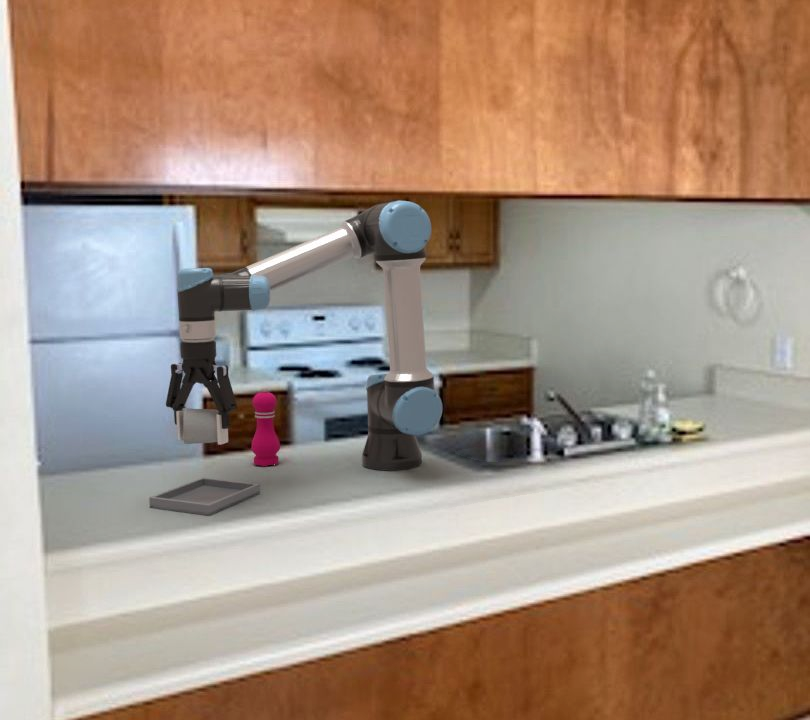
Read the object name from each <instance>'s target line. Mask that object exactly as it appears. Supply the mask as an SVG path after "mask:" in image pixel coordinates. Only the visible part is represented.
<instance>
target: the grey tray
mask: <svg viewBox="0 0 810 720" xmlns="http://www.w3.org/2000/svg"><path fill="white" fill-rule="evenodd" d="M260 485H261V484H260V483H253V482H245V481H236V480H235V481H234V480H227V479H226V480H225V479H218V478H211V477H200V478H198V479H196V480H192V481H190V482H187V483H185V484H182V485H179V486H176V487H174V488H171V489H168V490H166V491H163V492H161V493H157V494H155V495H152V496H150V497H149V500H148V501H149V508H152V509H157V510H158V509H159V510H166V511H173V512H179V513H187V514H194V515H201V516H202V515H203V516H208V515H209V516H212V515H215V514H217V513H219V512H221V511H223V510H226V509H228V508H231V507H233V506H235V505H238V504H240V503H242V502H244V500H245V501H246V500H249V499H251V498H254V497H256V496H257V494H258V495H260V494H261V487H260ZM259 493H260V494H259ZM255 495H256V496H255ZM253 496H254V497H253ZM248 498H249V499H248ZM239 502H240V503H239ZM237 503H238V504H237ZM216 512H217V513H216ZM214 513H215V514H214Z"/></svg>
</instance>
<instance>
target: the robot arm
mask: <svg viewBox="0 0 810 720" xmlns="http://www.w3.org/2000/svg"><path fill="white" fill-rule="evenodd" d="M431 236H432V222H431V219H430V217H429V215H428V213H427V212H426V211H425V209H423V208H422V207H421V206H420V205H419V204H417V203H415V202H412V201H407V200H396V201H395V200H394V201H389V202H383V203H381V202H380V203H379V204H375V205H373V206H371V207H370V208H368V209H366V210H364V211H362V212H361V213H358V214H357V215H354V216H353V217H350V218H348V219H346V220H344V221H342V222H341V224H340V227H338V228H336V229H333V230H331V231H328V232H326V233H324V234H321V235H319V236H317V237H316V236H315V237H314V238H312V239H309V240H306V241H305V242H302V243H300V244H297V245H295V246H292V247H291V248H288V249H286V250H285V249H284V250H283V251H281V252H278V253H276V254H273V255H271V256H269V257H266V258H265V259H261V260H259V261H257V262H254V263H252V264H250V265H248V266H245V267H243V268H240V269H238V270H235V271H233V272H231V273H224V274H222V275H220V276H215V275H214V273H213V269H212V268H210V267H191V268H189V267H188V268H181V269H179V271H178V272H177V279H176V280H177V282H176V283H177V288H176V292H177V306H178V307H177V308H178V323H179V324H178V325H179V339H180V340H182V341H181V342H180V358H181V359H182V363H181V362H178V363H172V364H171V365H170V374H171V375H170V380H169V384H168V385H169V386H168V390H167V396H166V402H165V406H166V407H167V408H170V409H172V410H173V416H174V417H173V419H174V424H175V425H176V429H177V430H176V433H177V434H176V436H177V441H184V439H183V437H184V436H183V419H184V409H187V408H186V407H187V406H185V405H186V403H187V402H188V399H189V398H190V397H189V396H190V394H191V392H192V391H193V388H194V385H195V384H196V383H197V384H201V385H203V387H204V388H205V389H207V391H208V393H209V395H210V397H211V399H212V401H213V403H214V404H215V406H216V408H217V409H216V410H218V411H219V413H218V414H216V417H217V438H218V442H217V445H224V444H226V443H229V428H230V426H231V418H230V417H231V415H230V414H231V412H234V411H237V410H238V405H237V400H236V398H235V393H234V390H233V387H232V383H231V381H230V376H229V366H228V365H227V364H225V365H217V362H216V357H217V343H216V340H214V339H215V338H216V337H217V335H216V322H215V321H216V319H215V317H216V316H215V313H216V312H235V311H236V312H237V311H238V312H240V311H241V312H242V311H243V312H244V311H253V312H254V311H259V310H265V309H267V308H268V307H269V305H270V302H271V301H270V300H271V299H270V298H271V292H273V291H275V290H278V289H281V288H283V287H284V286H287V285H289V284H291V283H294V282H296V281H299V280H300V279H301V280H302V279H303V278H306V277H309V276H311V275H313V274H315V273H318V272H319V271H322V270H324V269H327V268H329V267H332V266H334V265H337V264H339V263H341V262H344V261H346V260H348V259H351V258H355V259H357V260H359V259H361V258H364V257H365V256H366V257H367V256H369V255H373V254H375V263H376V264H377V265H379V266H380V267H381V269H382V272H383V273H382V274H383V286H384V288H383V289H384V299H385V300H384V301H385V302H384V303H385V314H386V328H387V330H386V332H387V344H388V357H389V358H388V359H389V372H388V373H379V374H377V373H376V374H372V375H368V377H367V379H366V389H365V390H366V400H367V401H366V404H367V407H366V408H367V432H368V433H367V437H366V441H365V444H364V448H363V450H362V451H363V452H362V453H361V455H362V456H361V464H362V466H363V467H365V468H368V469H372V470H378V471H379V470H381V471H397V470H399V471H400V470H407V469H412V468H416V467H419V466H421V465H422V463H423V455H422V451H421V450H422V449H420V445H419V443H418V439H417V437H416V436H421V435H425V434H427V433H429V432H430V431H432V430H433V429H434V428H435V427H436V426H437V425H438V423H439V422H440V420H441V417H442V414H443V403H442V399H441V397H440V396H439V393H437V391H435V379H434V373H432V372H431V371H430V370H429V369H428V367H427V357H426V342H425V341H426V340H425V327H424V313H423V312H424V310H423V295H422V279H421V265H422V264H423V263H424V262H425V261H426V260H427V255H426V254H427V253H426V252H427V251H426V246H427V244H428V242H429V241H430V238H431ZM183 375H184V376H183Z"/></svg>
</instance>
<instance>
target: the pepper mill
mask: <svg viewBox="0 0 810 720" xmlns="http://www.w3.org/2000/svg"><path fill="white" fill-rule="evenodd" d="M268 390H269V388H268V387H267V386H266V385H263V386H261V388H260V392H258V393H257V394H255V395H254V396H253V398H252V406H253V408H254V409H255V411H254V418H256V430H255V433H254V434H253V435H254V436H253V439H252V442H251V451H252V453H254V455H255V456H253V464H255V465H254V466H256V465H261V466H260V467H269V466H268V465H273V466H275V465H274V464H276V465H278V464H279V463H278V462H279V455H277V454H278V453H279V451H280V449H281V443H280V440H279V437H278V436H277V433H276V431H275V427H274V417H275V416H276V415H275V412H276V411H275V410H274V409H275V408H276V407H277V399H276V396H275V395H274V394H273V393H272V392H269V391H268ZM277 463H278V464H277Z"/></svg>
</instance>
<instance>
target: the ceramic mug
mask: <svg viewBox="0 0 810 720" xmlns="http://www.w3.org/2000/svg"><path fill="white" fill-rule="evenodd" d="M218 413H219V411H218V409H215V408H184V419H183V436H184V437H183V439H184V440H183V443H184V445H193V444H194V445H195V444H196V445H197V444H211V443H218V438H217V417H216V414H218Z"/></svg>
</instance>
